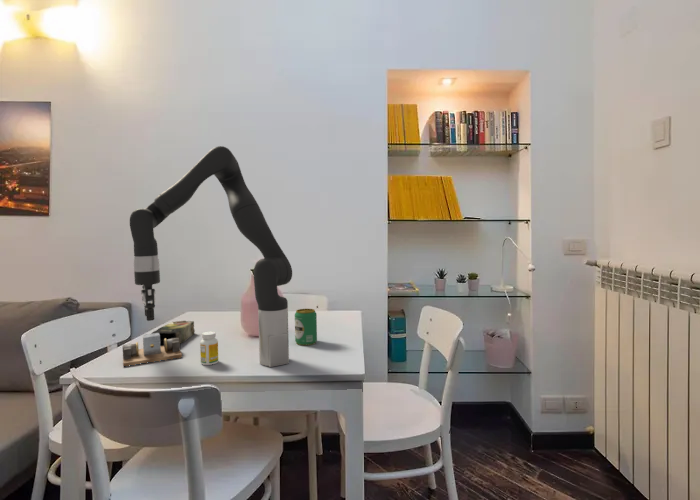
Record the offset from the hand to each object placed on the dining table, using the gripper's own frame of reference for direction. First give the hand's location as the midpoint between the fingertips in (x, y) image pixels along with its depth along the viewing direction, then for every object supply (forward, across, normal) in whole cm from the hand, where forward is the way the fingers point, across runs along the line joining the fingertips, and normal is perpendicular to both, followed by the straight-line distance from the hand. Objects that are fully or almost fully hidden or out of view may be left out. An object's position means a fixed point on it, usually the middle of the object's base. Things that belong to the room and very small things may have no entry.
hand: (149, 318), depth 136 cm
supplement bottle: (+14, -16, -16) cm, 26 cm away
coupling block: (+12, +1, 0) cm, 12 cm away
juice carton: (+14, +18, -9) cm, 24 cm away
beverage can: (+14, -13, -50) cm, 54 cm away
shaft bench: (+13, +1, 0) cm, 13 cm away
